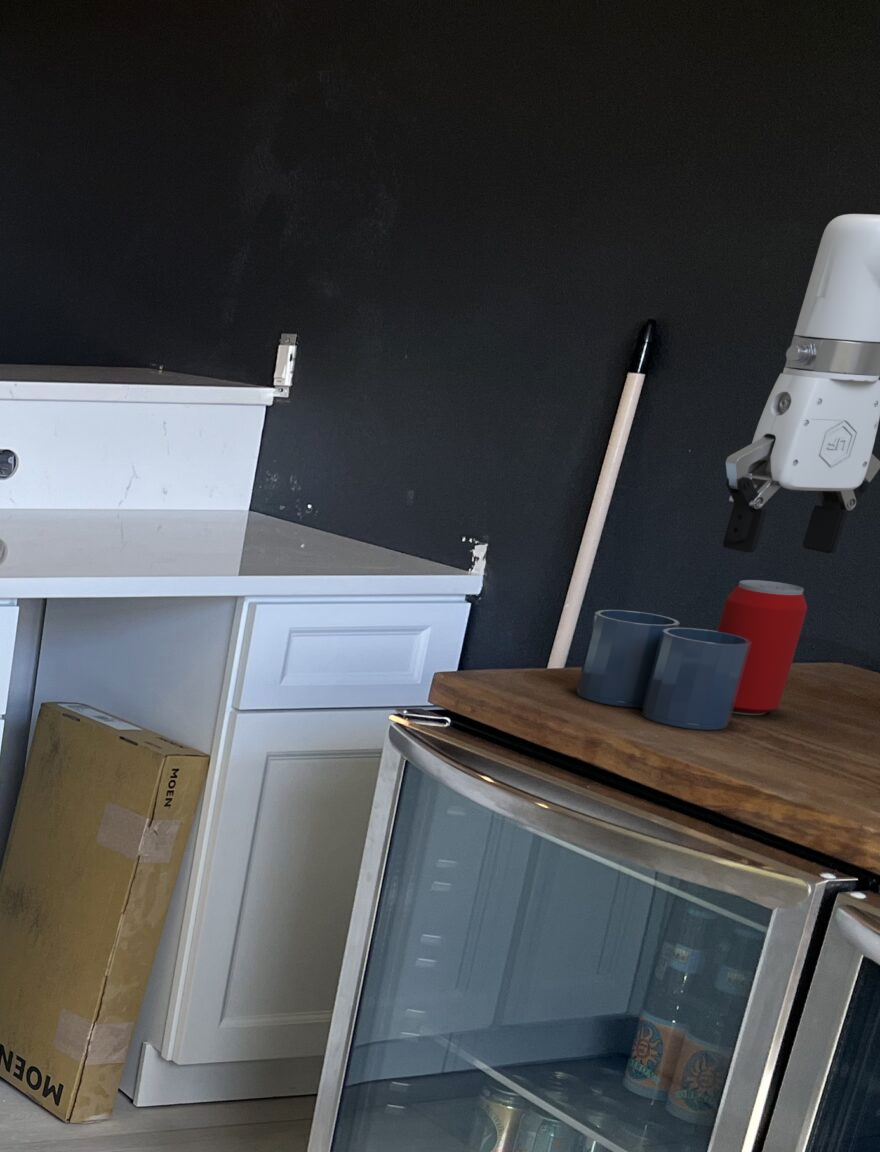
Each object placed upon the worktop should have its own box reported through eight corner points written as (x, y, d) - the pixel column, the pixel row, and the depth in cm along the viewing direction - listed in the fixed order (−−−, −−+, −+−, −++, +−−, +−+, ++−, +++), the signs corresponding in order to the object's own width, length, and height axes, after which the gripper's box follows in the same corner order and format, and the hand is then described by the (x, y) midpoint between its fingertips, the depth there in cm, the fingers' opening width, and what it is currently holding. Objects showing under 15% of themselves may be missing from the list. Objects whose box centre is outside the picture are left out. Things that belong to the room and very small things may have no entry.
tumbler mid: (720, 716, 179) (742, 633, 176) (733, 733, 172) (758, 648, 169) (636, 706, 181) (657, 624, 178) (647, 723, 174) (669, 638, 171)
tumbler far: (651, 695, 186) (672, 615, 183) (662, 711, 180) (684, 628, 176) (572, 686, 188) (591, 606, 185) (580, 701, 182) (600, 619, 179)
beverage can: (773, 706, 183) (807, 584, 179) (780, 721, 178) (817, 595, 173) (695, 696, 186) (727, 575, 182) (700, 711, 180) (734, 586, 176)
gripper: (796, 361, 164) (739, 557, 171) (943, 368, 169) (883, 558, 176) (726, 353, 171) (674, 542, 177) (870, 360, 176) (814, 543, 182)
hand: (778, 550), depth 177 cm, fingers open, 9 cm apart
